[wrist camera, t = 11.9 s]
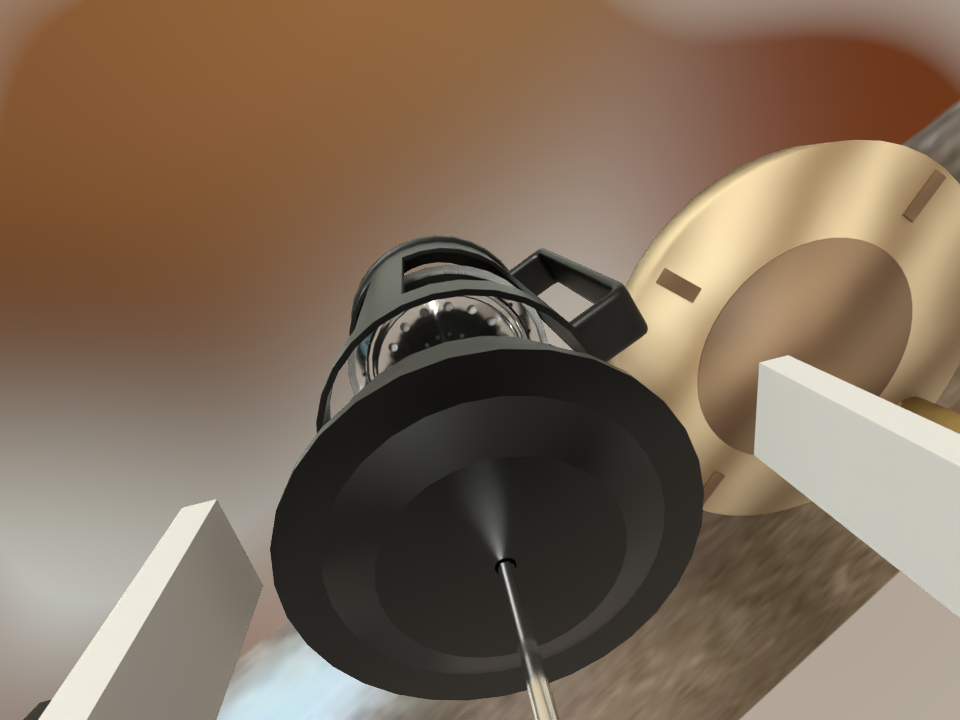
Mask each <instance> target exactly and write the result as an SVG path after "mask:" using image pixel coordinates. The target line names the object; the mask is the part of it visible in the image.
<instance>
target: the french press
mask: <svg viewBox="0 0 960 720" xmlns="http://www.w3.org/2000/svg"><path fill="white" fill-rule="evenodd" d="M434 262H444V263H453V264H457V265H461V266H454V265H444V266H438V267H431V268H425V269H422V270H419V271H417V272H414V273H411V274H408V275H406V276H404V273H405V272H407V271H408V270H410V269H412V268H415V267H418V266H420V265H423V264H428V263H434ZM557 282H560V283H561V284H563V285H564V286H566V287H568V288H569V289H571V290H572V291H574V292H576V293H577V294H579V295H581V296H582V297H584V298H585V299H587V300H589V301H590V302H592V303H594V305H593V306H591V307H590V308H589V309H587V310H586V311H584V312H583V313H582V314H580V315H579V316H577V317H576V318H575V319H573V320H572V321H570V322H568V321H566V320H565V319H564V318H563V317H562V316H560V315H559V314H558V313H557V312H556V311H554V310H553V309H552V308H551V307H549V306H548V305H547V304H546V303H545V302H543V301H542V300H541V299H540V298H539V297H537V296H538V295H539V294H541V293H542V292H543V291H545V290H546V289H547V288H549V287H550V286H551V285H553V284H555V283H557ZM540 318H541V319H542V320H543V321H544V322H545V323H546V324H547V325H548V326H549V327H550V328H551V329H552V330H553V331H554V332H555V333H556V334H557V335H558V336H559V337H560V338H561V339H562V340H563V341H564V342H565V343H566V344H568V345H569V346H570V347H571V348H572V349H573V350H574V351H572V350H567V349H563V348H558V347H555V346H552V345H550V344H548V342H547V337H546V334H545V330H544V327H543V323H542V321H541V319H540ZM647 331H648V326H647V323H646V322H645V320H644V318H643V316H642V314H641V313H640V311H639V309H638V307H637V306H636V304H635V302H634V300H633V298H632V297H631V295H630V293H629V291H628V290H627V288H626V287H625V286H624V285H623V284H622V283H620V282H618V281H616V280H614V279H611V278H609V277H607V276H605V275H602V274H600V273H598V272H595V271H593V270H591V269H589V268H587V267H585V266H582V265H580V264H578V263H576V262H573V261H571V260H569V259H567V258H564V257H562V256H560V255H558V254H555V253H553V252H551V251H548V250H546V249H539V250H537V251H536V252H534V253H533V254H532V255H530V256H529V257H528V258H526V259H525V260H524V261H522V262H521V263H520V264H518V265H517V266H516V267H514V268H513V269H511V270H510V271H509V270H508V269H507V268H506V266H505V265H504V264H503V263H502V262H501V261H500V260H499V259H498V258H496V256H494V255H493V254H492V253H490V252H489V251H488V250H486V249H485V248H483V247H481V246H479V245H477V244H475V243H473V242H471V241H468V240H464V239H461V238H457V237H453V236H436V235H435V236H428V237H421V238H416V239H413V240H410V241H407V242H405V243H402V244H400V245H398V246H396V247H395V248H393V249H391V250H390V251H388V252H386V253H385V254H384V255H383V256H382V257H380V258H379V259H378V260H377V261H376V262H375V263H374V264H373V265H372V266H371V268H370V269H369V270H368V272H367V273H366V275H365V276H364V278H363V279H362V281H361V283H360V285H359V288H358V290H357V292H356V295H355V297H354V302H353V307H352V313H351V327H350V337H349V338H348V340H347V341H346V343H345V344H344V345H343V347H342V348H341V350H340V351H339V353H338V355H337V357H336V360H335V362H334V364H333V367H332V369H331V372H330V374H329V376H328V379H327V382H326V384H325V387H324V389H323V392H322V395H321V399H320V405H319V411H318V416H317V422H316V425H317V435H316V436H315V438H314V439H313V440H312V442H311V443H310V445H309V446H308V447H307V449H306V450H305V451H304V453H303V454H302V456H301V457H300V458H299V460H298V461H297V462H296V464H295V466H294V469H293V471H292V474H291V476H290V478H289V481H288V483H287V485H286V488H285V490H284V493H283V495H282V497H281V500H280V502H279V505H278V507H277V510H276V514H275V521H274V527H273V534H272V541H271V547H270V552H271V560H272V569H273V577H274V585H275V588H276V591H277V593H278V595H279V598H280V601H281V603H282V606H283V608H284V610H285V613H286V616H287V618H288V619H289V620H290V622H291V623H292V624H293V626H294V627H295V629H296V630H297V631H298V633H299V634H300V635H301V637H302V638H303V639H304V641H305V642H306V643H307V645H308V646H310V647H311V648H312V649H313V650H314V651H315V652H317V653H318V654H319V655H320V656H321V657H323V658H324V659H325V660H326V661H327V662H328V663H330V664H331V665H332V666H333V667H335V668H337V669H339V670H340V671H342V672H344V673H346V674H348V675H350V676H351V677H353V678H355V679H357V680H359V681H361V682H362V683H365V684H368V685H371V686H374V687H377V688H380V689H383V690H386V691H389V692H392V693H395V694H399V695H406V696H412V697H418V698H424V699H430V700H474V699H482V698H490V697H499V696H505V695H509V694H513V693H517V692H521V691H525V690H528V695H529V699H530V703H531V707H532V711H533V715H534V719H535V720H560V719H559V716H558V713H557V709H556V706H555V702H554V699H553V696H552V692H551V689H550V685H549V683H550V682H553V681H555V680H558V679H560V678H563V677H565V676H568V675H571V674H573V673H575V672H576V671H578V670H580V669H582V668H584V667H586V666H587V665H589V664H591V663H593V662H595V661H597V660H598V659H600V658H602V657H604V656H605V655H606V654H608V653H609V652H611V651H612V650H613V649H615V648H616V647H617V646H619V645H620V644H621V643H623V642H624V641H626V640H627V639H628V638H630V637H631V636H632V635H633V634H634V633H635V632H636V631H637V630H638V629H639V628H640V627H641V626H643V625H644V624H645V623H646V622H647V621H648V620H649V619H650V618H651V617H652V616H653V615H654V614H655V613H656V612H657V611H658V609H659V608H660V607H661V605H662V604H663V603H664V601H665V600H666V599H667V597H668V596H669V595H670V593H671V592H672V591H673V589H674V588H675V587H676V585H677V584H678V582H679V580H680V578H681V576H682V574H683V572H684V570H685V568H686V567H687V565H688V563H689V561H690V559H691V557H692V555H693V551H694V548H695V545H696V541H697V538H698V535H699V531H700V528H701V525H702V512H703V500H704V488H703V482H702V475H701V469H700V462H699V459H698V456H697V454H696V452H695V449H694V447H693V445H692V442H691V440H690V438H689V435H688V433H687V431H686V429H685V427H684V426H683V425H682V424H681V422H680V421H679V420H678V418H677V417H676V416H675V415H674V413H673V412H672V411H671V409H670V408H669V407H668V406H667V404H666V403H665V402H664V401H663V400H662V399H661V398H660V397H659V396H657V395H656V394H655V393H654V392H652V391H651V390H650V389H648V388H647V387H646V386H645V385H643V384H642V383H641V382H639V381H638V380H637V379H636V378H634V377H633V376H632V375H630V374H629V373H628V372H627V371H624V370H622V369H620V368H618V367H616V366H613V365H611V364H609V363H607V361H609V360H610V359H612V358H613V357H614V356H616V355H617V354H619V353H620V352H622V351H623V350H625V349H626V348H627V347H629V346H630V345H632V344H633V343H634V342H636V341H637V340H639V339H640V338H641V337H643V336H644V335H645V334H646V333H647ZM347 359H348V370H349V371H348V372H349V378H350V382H351V386H352V390H353V393H354V395H355V396H354V397H353V398H352V400H351V401H350V402H349V404H347V405H346V406H345V407H344V408H343V409H342V410H341V411H339V412H338V413H337V414H336V415H335V416H334V417H333V418H332V419H331V418H330V399H331V394H332V388H333V383H334V381H335V379H336V376H337V374H338V371H339V370H340V369H341V367H342V366H343V365H344V363H345V362H346V360H347Z"/></svg>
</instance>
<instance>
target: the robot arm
mask: <svg viewBox="0 0 960 720" xmlns="http://www.w3.org/2000/svg"><path fill="white" fill-rule="evenodd" d="M754 455H755V456H756V457H757V458H758V459H760V460H761V461H762V462H763V463H765V464H766V465H767V466H768V467H770V468H771V469H772V470H774V471H775V472H776V473H777V474H779V475H780V476H781V477H782V478H784V479H785V480H786V481H787V482H789V483H790V484H791V485H792V486H794V487H795V488H796V489H798V490H799V491H800V492H801V493H803V494H804V495H805V496H806V497H808V498H809V499H810V500H811V501H813V502H814V503H815V504H816V505H818V506H819V507H820V508H822V509H823V510H824V511H825V512H827V513H828V514H829V515H830V516H832V517H833V518H834V519H835V520H837V521H838V522H839V523H840V524H842V525H843V526H844V527H846V528H847V529H848V530H849V531H851V532H852V533H853V534H854V535H856V536H857V537H858V538H859V539H861V540H862V541H863V542H864V543H866V544H867V545H868V546H870V547H871V548H872V549H873V550H875V551H876V552H877V553H878V554H880V555H881V556H882V557H883V558H885V559H886V560H887V561H888V562H890V563H891V564H892V565H894V566H895V567H896V568H897V569H899V570H900V571H901V572H902V573H904V574H905V575H906V576H907V577H909V578H910V579H911V580H912V581H914V582H915V583H916V584H918V585H919V586H920V587H921V588H923V589H924V590H925V591H926V592H928V593H929V594H930V595H931V596H933V597H934V598H935V599H936V600H938V601H939V602H940V603H942V604H943V605H944V606H945V607H947V608H948V609H949V610H950V611H952V612H953V613H954V614H955V615H957V616H958V617H959V618H960V434H958V433H956V432H954V431H952V430H950V429H948V428H945V427H943V426H941V425H939V424H937V423H934V422H932V421H930V420H928V419H926V418H924V417H921V416H919V415H917V414H915V413H913V412H911V411H908V410H906V409H904V408H902V407H900V406H898V405H895V404H893V403H891V402H889V401H887V400H884V399H882V398H880V397H878V396H876V395H874V394H871V393H869V392H867V391H865V390H863V389H861V388H858V387H856V386H854V385H852V384H850V383H848V382H845V381H843V380H841V379H839V378H837V377H834V376H832V375H830V374H828V373H826V372H824V371H821V370H819V369H817V368H815V367H813V366H811V365H808V364H806V363H804V362H802V361H800V360H797V359H795V358H793V357H791V356H789V355H787V356H783V357H779V358H775V359H771V360H767V361H763V362H759V375H758V392H757V409H756V426H755V443H754ZM262 588H263V585H262V583H261V581H260V579H259V577H258V575H257V573H256V572H255V570H254V568H253V566H252V564H251V562H250V560H249V558H248V556H247V555H246V553H245V551H244V549H243V547H242V545H241V544H240V542H239V540H238V538H237V536H236V534H235V532H234V530H233V529H232V527H231V525H230V523H229V521H228V519H227V517H226V516H225V514H224V512H223V510H222V508H221V506H220V505H219V502H218V501H217V499H216V500H212V501H208V502H204V503H200V504H196V505H192V506H188V507H184V508H182V509H181V510H180V512H179V513H178V515H177V517H176V518H175V519H174V521H173V522H172V524H171V525H170V527H169V528H168V530H167V531H166V533H165V534H164V536H163V537H162V538H161V540H160V541H159V543H158V544H157V546H156V547H155V549H154V550H153V552H152V553H151V555H150V556H149V558H148V559H147V561H146V562H145V564H144V565H143V566H142V568H141V569H140V571H139V572H138V574H137V575H136V577H135V578H134V580H133V581H132V583H131V584H130V586H129V587H128V588H127V590H126V591H125V593H124V594H123V596H122V597H121V599H120V600H119V602H118V603H117V605H116V606H115V608H114V609H113V611H112V612H111V614H110V615H109V617H108V618H107V619H106V621H105V622H104V624H103V625H102V627H101V628H100V630H99V631H98V633H97V634H96V636H95V637H94V639H93V640H92V642H91V643H90V644H89V646H88V647H87V649H86V650H85V652H84V653H83V655H82V656H81V658H80V659H79V661H78V662H77V664H76V665H75V666H74V668H73V669H72V671H71V672H70V674H69V675H68V677H67V678H66V680H65V681H64V683H63V684H62V686H61V687H60V689H59V690H58V691H57V693H56V695H55V696H54V698H53V699H52V700H48V701H45V702H41V703H39V704H38V705H37V707H35V708H34V709H33V710H32V711H31V712H30V713H29V715H28V716H27V717H26V718H25V719H24V720H216V719H217V716H218V713H219V710H220V707H221V705H222V702H223V699H224V696H225V693H226V690H227V687H228V685H229V682H230V679H231V676H232V673H233V670H234V667H235V665H236V662H237V659H238V656H239V653H240V650H241V647H242V645H243V642H244V638H245V636H246V633H247V630H248V627H249V624H250V622H251V619H252V616H253V613H254V610H255V607H256V605H257V602H258V599H259V596H260V593H261V590H262Z"/></svg>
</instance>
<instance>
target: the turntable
mask: <svg viewBox="0 0 960 720" xmlns="http://www.w3.org/2000/svg"><path fill="white" fill-rule="evenodd" d="M625 287H626V288H627V290H628V291H629V293H630V295H631V297H632V298H633V300H634V302H635V304H636V306H637V307H638V309H639V311H640V313H641V314H642V316H643V318H644V320H645V322H646V323H647V326H648V331H647V333H646V334H645V335H644V336H643V337H641V338H640V339H639V340H637V341H636V342H634V343H633V344H632V345H630V346H629V347H627V348H626V349H625V350H623V351H622V352H620V353H619V354H617V355H616V356H614V357H613V358H612V359H610V360H609V361H607V363H609V364H611V365H613V366H616V367H618V368H620V369H622V370H624V371H627V372H628V373H629V374H630V375H632V376H633V377H634V378H636V379H637V380H638V381H639V382H641V383H642V384H643V385H645V386H646V387H647V388H648V389H650V390H651V391H652V392H654V393H655V394H656V395H657V396H659V397H660V398H661V399H662V400H663V401H664V402H665V403H666V404H667V406H668V407H669V408H670V409H671V411H672V412H673V413H674V415H675V416H676V417H677V418H678V420H679V421H680V422H681V424H682V425H683V426H684V427H685V429H686V431H687V433H688V435H689V438H690V440H691V442H692V445H693V447H694V449H695V452H696V454H697V456H698V459H699V462H700V469H701V475H702V482H703V488H704V500H703V510H704V511H707V512H711V513H717V514H724V515H742V516H750V515H759V514H769V513H774V512H778V511H783V510H787V509H791V508H794V507H797V506H800V505H803V504H806V503H809V502H812V501H811V500H810V499H809V498H808V497H806V496H805V495H804V494H803V493H801V492H800V491H799V490H798V489H796V488H795V487H794V486H792V485H791V484H790V483H789V482H787V481H786V480H785V479H784V478H782V477H781V476H780V475H779V474H777V473H776V472H775V471H774V470H772V469H771V468H770V467H768V466H767V465H766V464H765V463H763V462H762V461H761V460H760V459H758V458H757V457H756V456H755V455H754V443H755V426H756V409H757V392H758V375H759V362H763V361H767V360H771V359H775V358H779V357H783V356H787V355H789V356H791V357H793V358H795V359H797V360H800V361H802V362H804V363H806V364H808V365H811V366H813V367H815V368H817V369H819V370H821V371H824V372H826V373H828V374H830V375H832V376H834V377H837V378H839V379H841V380H843V381H845V382H848V383H850V384H852V385H854V386H856V387H858V388H861V389H863V390H865V391H867V392H869V393H871V394H874V395H876V396H878V397H880V398H882V399H884V400H887V401H889V402H891V403H893V404H895V405H898V406H900V407H902V408H904V409H906V410H908V411H911V412H913V413H915V414H917V415H919V416H921V417H924V418H926V419H928V420H930V421H932V422H934V423H937V424H939V425H941V426H943V427H945V428H948V429H950V430H952V431H954V432H956V433H958V434H960V414H959V413H957V412H954V411H952V410H949V409H947V408H945V407H942V406H940V405H937V404H935V403H936V401H937V400H938V398H939V397H940V395H941V394H942V392H943V391H944V389H945V388H946V386H947V385H948V383H949V382H950V380H951V378H952V376H953V374H954V372H955V370H956V369H957V367H958V365H959V363H960V184H959V183H958V182H957V181H956V180H955V179H954V178H953V177H952V176H951V175H950V174H949V173H948V171H947V170H946V169H945V168H944V167H942V166H941V165H939V164H938V163H936V162H935V161H934V160H932V159H931V158H929V157H928V156H926V155H924V154H922V153H920V152H917V151H915V150H913V149H910V148H908V147H906V146H902V145H898V144H893V143H888V142H884V141H870V140H849V141H839V142H829V143H820V144H812V145H804V146H796V147H791V148H787V149H784V150H780V151H777V152H773V153H770V154H767V155H764V156H763V157H760V158H758V159H755V160H753V161H751V162H748V163H746V164H744V165H741V166H740V167H738V168H736V169H735V170H733V171H731V172H730V173H728V174H726V175H725V176H723V177H721V178H719V179H718V180H716V181H715V182H714V183H712V184H711V185H710V186H708V187H707V188H706V189H704V190H703V191H702V192H700V193H699V194H698V195H696V196H695V197H694V198H693V199H691V201H689V202H688V203H687V204H686V205H685V206H684V207H683V208H682V209H681V210H680V211H679V212H678V213H677V214H676V215H675V216H674V217H673V218H672V219H671V220H670V221H669V222H668V223H667V225H666V226H665V227H664V228H663V229H662V231H661V232H660V233H659V234H658V235H657V237H656V238H655V239H654V240H653V241H652V243H651V244H650V246H649V247H648V249H647V250H646V252H645V253H644V255H643V257H642V258H641V259H640V261H639V262H638V264H637V265H636V267H635V269H634V271H633V273H632V275H631V277H630V279H629V280H628V282H627V284H626V286H625Z"/></svg>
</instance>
